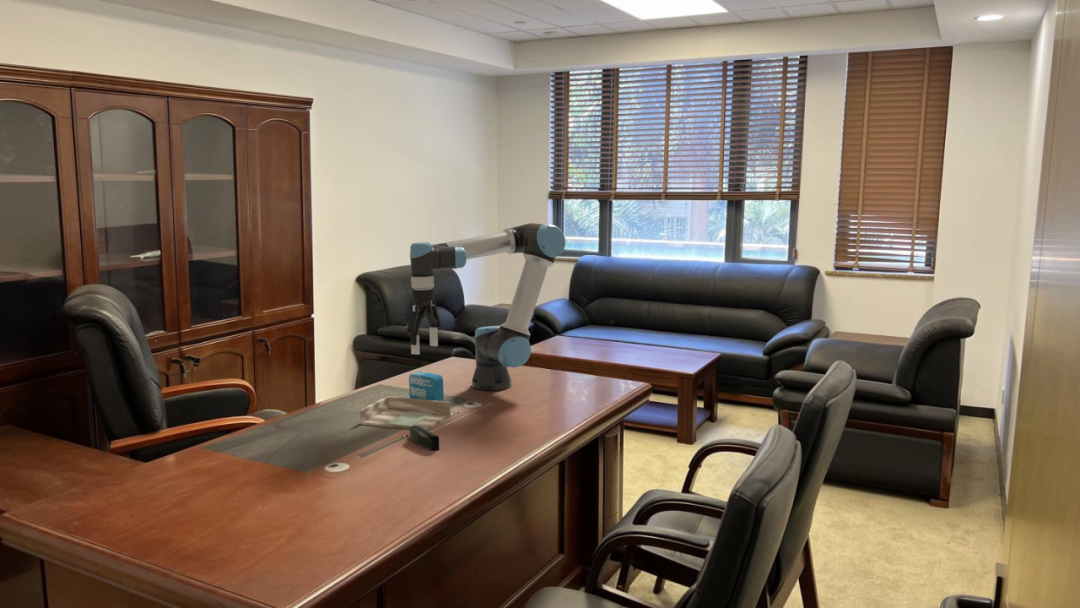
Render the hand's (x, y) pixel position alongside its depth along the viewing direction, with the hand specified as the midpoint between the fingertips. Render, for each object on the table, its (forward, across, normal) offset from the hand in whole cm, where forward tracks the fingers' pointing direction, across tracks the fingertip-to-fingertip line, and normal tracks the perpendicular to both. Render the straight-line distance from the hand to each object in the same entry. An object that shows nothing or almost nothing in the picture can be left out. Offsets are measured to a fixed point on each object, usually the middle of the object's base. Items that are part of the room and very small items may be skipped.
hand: (425, 350), depth 265 cm
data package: (+21, 0, 0) cm, 21 cm away
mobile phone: (+21, +35, +16) cm, 44 cm away
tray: (+20, +14, 0) cm, 25 cm away
